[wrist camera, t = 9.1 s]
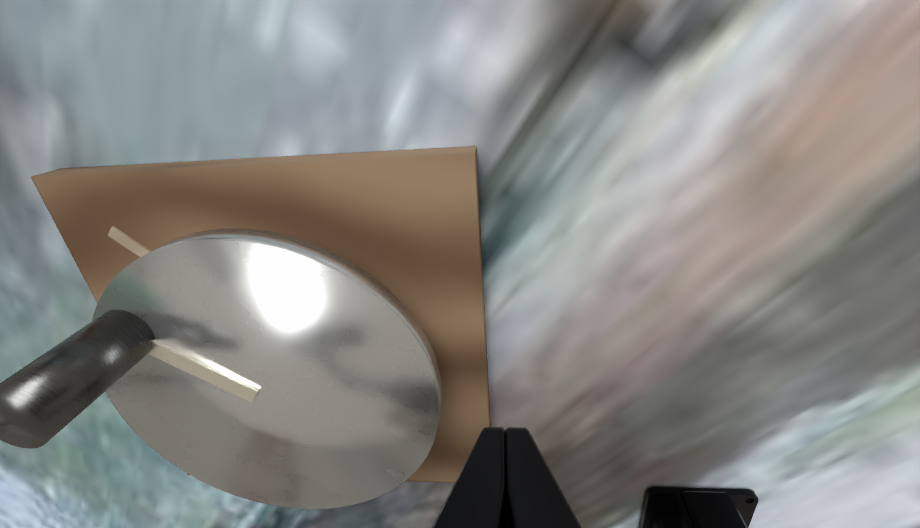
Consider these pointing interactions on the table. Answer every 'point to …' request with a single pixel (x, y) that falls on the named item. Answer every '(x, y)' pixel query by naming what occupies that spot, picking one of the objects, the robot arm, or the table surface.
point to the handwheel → (248, 370)
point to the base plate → (316, 242)
